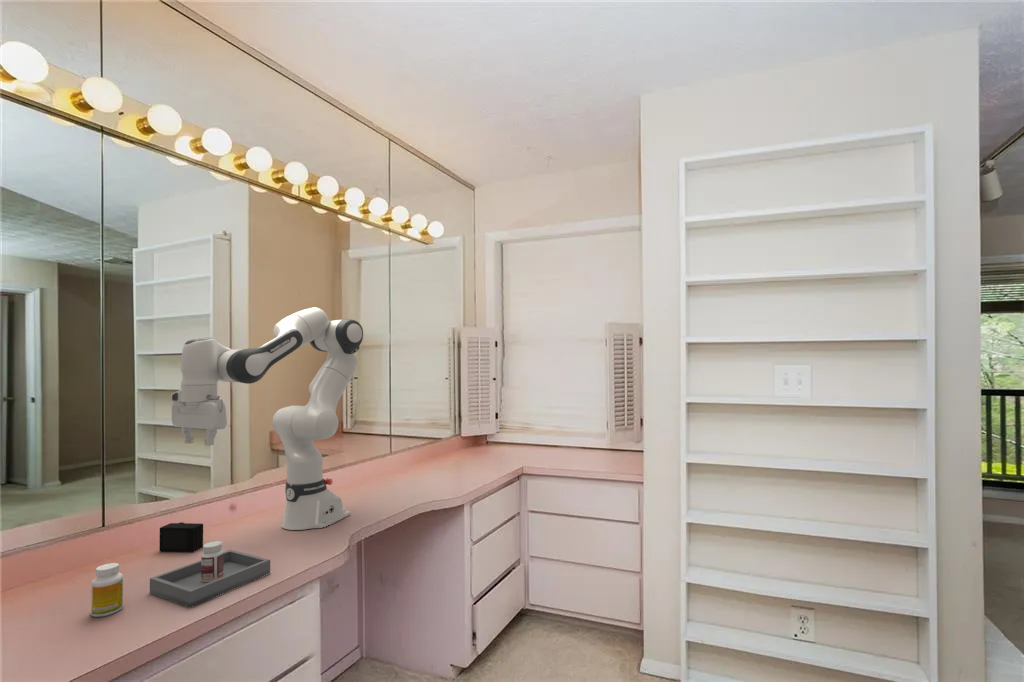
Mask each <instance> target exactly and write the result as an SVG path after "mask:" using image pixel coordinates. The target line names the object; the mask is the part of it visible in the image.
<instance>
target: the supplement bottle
mask: <svg viewBox="0 0 1024 682" xmlns="http://www.w3.org/2000/svg"><path fill="white" fill-rule="evenodd" d="M119 571H120V564H119V563H117V562H112V563H111V562H110V563H105V564H102V565H99V566H98V567H96V568H95V576H96V577H94V578H93V580H92V581H91V590H90V592H91V594H90V597H91V598H90V599H91V600H90V601H91V602H90V605H91V606H90V615H91V616H92V617H95V618H103V617H106V616H110V615H113V614H116V613H118V612H119V611H121V610H122V608H123V604H124V603H123V597H124V596H123V592H124V590H123V589H124V588H123V587H124V583H123V582H124V575H123V574H122V573H120V572H119Z"/></svg>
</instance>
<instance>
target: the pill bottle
mask: <svg viewBox="0 0 1024 682" xmlns="http://www.w3.org/2000/svg"><path fill="white" fill-rule="evenodd" d="M222 548H223V543H222V541H218V540H217V541H209V542H207V543H203V547H202V553H201V556H200V557H201V558H200V559H201V580H202V582H211V581H214V580H216V579H219V578H221V577H223V572H224V571H223V554H224V553H223V552H224V551H223V549H222Z"/></svg>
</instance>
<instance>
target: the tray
mask: <svg viewBox="0 0 1024 682" xmlns="http://www.w3.org/2000/svg"><path fill="white" fill-rule="evenodd" d="M223 553H224V554H223V571H224V572H223V577H221V578H219V579H216V580H214V581H211V582H202V580H201V560H197V561H195V562H191V563H189V564H187V565H184V566H180V567H177V568H175V569H172V570H169V571H166V572H164V573H162V574H159V575H158V574H157V575H154V576H152V577H150V578H149V594H150V593H151V594H150V595H153V596H156V597H159V598H161V599H165V600H167V601H169V602H173V603H175V604H178V605H181V606H184V607H186V606H187V608H189V607H191V608H193V607H196V606H198V605H200V604H202V603H204V602H207V601H210V600H212V599H214V598H217V597H219V596H221V595H223V594H222V593H224V594H226V593H228V592H230V590H231V591H233V590H235V589H238V588H240V587H242V586H244V585H243V584H245V585H247V584H249V583H251V582H250V581H252V582H254V581H256V580H259V579H261V578H263V577H265V576H264V575H266V574H268V573H270V574H271V559H270V558H269V559H268V558H265V557H260V556H258V555H254V554H249V553H246V552H241V551H237V550H233V549H229V550H226V551H223ZM268 575H269V574H268ZM262 576H263V577H262ZM266 576H267V575H266ZM260 577H261V578H260ZM258 578H259V579H258ZM255 579H256V580H255ZM253 580H254V581H253ZM248 582H249V583H248ZM246 583H247V584H246ZM241 585H242V586H241ZM239 586H240V587H239ZM237 587H238V588H237ZM234 588H235V589H234ZM232 589H233V590H232ZM225 592H226V593H225ZM220 594H221V595H220ZM218 595H219V596H218ZM216 596H217V597H216ZM213 597H214V598H213ZM197 604H198V605H197ZM195 605H196V606H195ZM192 606H193V607H192Z"/></svg>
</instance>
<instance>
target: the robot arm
mask: <svg viewBox="0 0 1024 682" xmlns="http://www.w3.org/2000/svg"><path fill="white" fill-rule="evenodd" d="M272 333H273V338H272V339H271V340H270V341H268V342H266V343H264V344H263V345H261V346H259V347H252V348H242V349H232V348H229V347H227V346H225V345H223V344H222V343H220V342H218V341H217V339H215V338H213V337H201V338H193V339H190V340H187V341H186V342H185V343H184V344H183V347H182V351H181V359H180V371H181V373H182V374H181V375H182V379H181V381H180V389H178V390H176V391H175V392H173V393H171V395H170V402H172V404H171V422H172V425H173V426H174V428H181V433H182V435H183V439H184V444H193V443H194V439H195V438H194V436H193V435H192V430H193V429H199V430H206V434H207V435H206V438H204V439H203V440H204V446H206V447H207V446H214V443H215V437H216V436H217V434H218V430H223V429H225V428H226V427H227V425H228V423H227V422H228V421H227V409H226V404H225V403H224V401H223V399H222V398H221V396H220V395H218V382H219V381H220V382H225V383H242V384H246V385H247V384H248V385H250V384H254V383H257V382H258V381H261V380H262V378H263V377H264V376H265V375H266V374H267V372H268V371H269V370H270V369H271V368H272V367H273V366H274V365H275V364H277V363H278V362H280V361H281V360H283V359H284V358H286V357H287V356H288V355H290V354H292V353H293V352H294V351H296V350H298V349H300V348H302V347H304V346H306V345H308V344H309V343H310V345H311V347H312V348H314V350H316V351H319V352H324V353H325V352H327V356H326V359H325V361H324V362H323V364H322V366H320V368H319V370H318V371H317V373H316V374H315V376H314V377H313V379H312V381H310V384H309V386H308V392H309V394H310V398H309V400H308V402H307V404H305V405H290V406H289V405H288V406H285V407H282V408H279V409H278V410H277V411H276V412H275V413H274V415H273V417H272V422H271V423H272V428H273V431H275V433H276V434H277V436H278V437H279V438H280V441H281V443H282V445H283V450H284V454H285V458H286V475H287V476H286V480H287V481H286V482H285V487H284V489H285V490H284V491H285V499H286V501H285V508H284V515H283V519H282V522H281V528H282V529H285V530H288V531H289V530H290V531H300V530H302V531H303V530H309V529H322V528H323V527H324V528H326V526H327V527H328V525H329V526H330V525H332V524H335V523H337V522H338V521H340V520H342V519H344V518H346V517H348V516H351V513H350V511H349V510H347V509H345V508H344V507H343V506H344V505H343V501H342V498H341V497H340V496H338V495H337V494H336V493H334V492H333V491H331V490H330V489H328V487H327V485H329V486H331V485H332V484H333V481H334V480H333V479H332V478H324V477H323V476H324V475H323V471H324V470H323V465H324V464H323V461H324V460H323V455H322V453H321V452H320V451H319V450H318V448H317V447H316V444H315V441H322V440H327V439H330V438H332V437H333V436H334V435H335V434H336V433H337V431H338V428H339V421H340V420H339V417H338V415H337V407H338V403H339V401H340V398H341V397H342V395H343V394H344V392H345V390H346V388H347V386H348V385H349V384H350V381H351V379H352V378H353V376H354V373H355V371H356V368H357V365H358V358H357V356H356V355H355V353H357V352H358V351H360V350H359V349H360V345H361V344H362V342H363V339H364V328H363V326H362V325H361V324H360V322H359V321H357V320H355V319H351V318H344V319H334V320H330V319H329V317H328V314H327V313H326V312H325V311H324V310H323V309H322V308H319V307H313V306H312V307H308V308H305V309H302V310H301V309H300V310H298V311H296V312H294V313H292V314H290V315H287V316H285V317H284V318H282V319H281V320H280V321H278V322H277V323H276V324H275V325H274V327H273V332H272Z"/></svg>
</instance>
